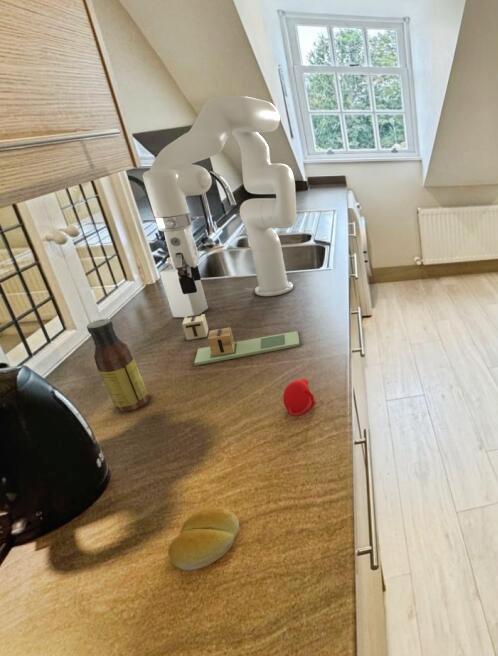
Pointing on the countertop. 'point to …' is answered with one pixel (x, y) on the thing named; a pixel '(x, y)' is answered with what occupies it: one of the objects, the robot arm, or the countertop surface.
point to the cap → (298, 398)
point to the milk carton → (182, 302)
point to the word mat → (250, 347)
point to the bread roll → (204, 538)
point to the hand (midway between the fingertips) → (192, 286)
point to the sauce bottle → (117, 367)
